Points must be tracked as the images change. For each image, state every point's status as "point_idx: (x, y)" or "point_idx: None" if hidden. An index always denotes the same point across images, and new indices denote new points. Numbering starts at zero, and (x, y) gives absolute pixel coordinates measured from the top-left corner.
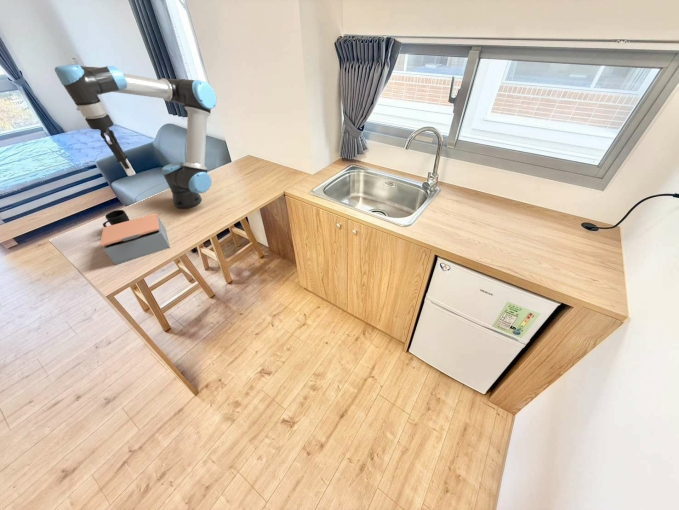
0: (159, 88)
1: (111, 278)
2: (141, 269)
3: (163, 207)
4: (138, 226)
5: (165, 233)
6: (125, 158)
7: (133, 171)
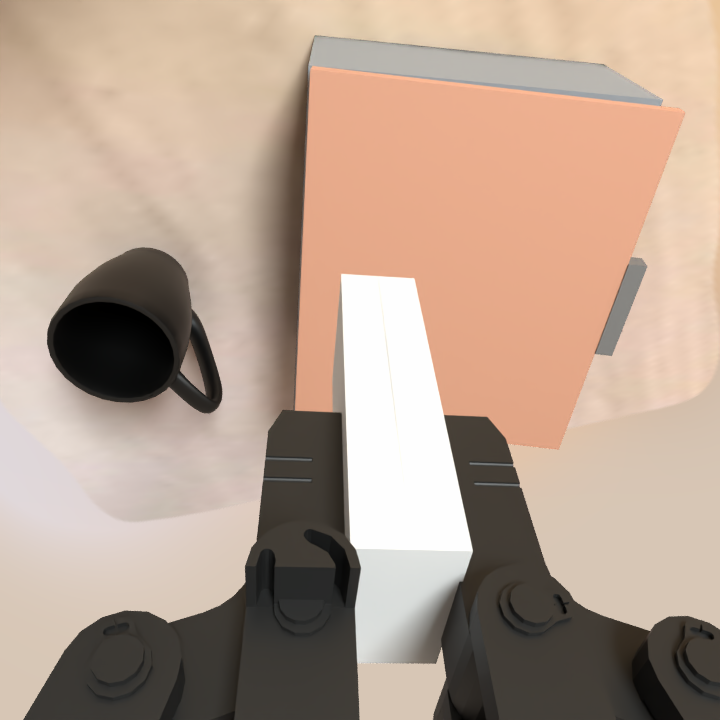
0: None
1: (616, 373)
2: (674, 256)
3: None
4: (481, 245)
5: (440, 53)
6: (552, 625)
7: (421, 321)
